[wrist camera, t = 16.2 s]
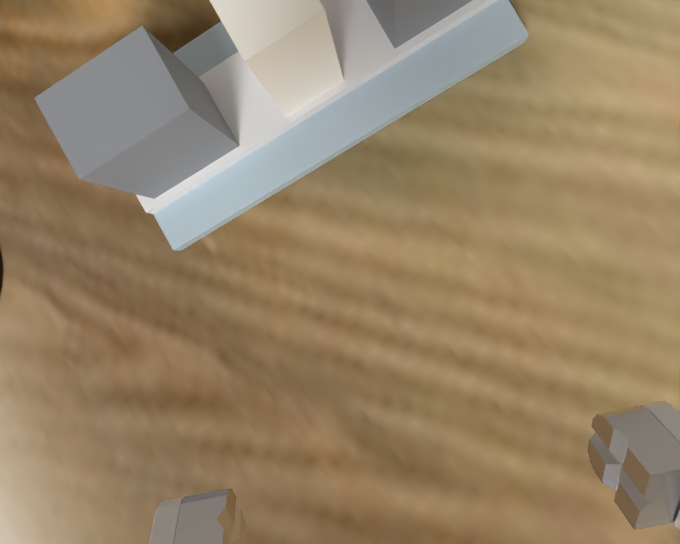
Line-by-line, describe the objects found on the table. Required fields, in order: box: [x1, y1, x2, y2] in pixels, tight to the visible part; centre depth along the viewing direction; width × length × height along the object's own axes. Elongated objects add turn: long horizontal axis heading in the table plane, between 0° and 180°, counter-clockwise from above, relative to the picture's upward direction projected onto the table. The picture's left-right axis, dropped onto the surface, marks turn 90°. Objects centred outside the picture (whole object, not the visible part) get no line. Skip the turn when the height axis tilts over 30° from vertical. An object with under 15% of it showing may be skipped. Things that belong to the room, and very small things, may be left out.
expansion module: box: [210, 0, 344, 117], centre depth 27 cm, size 5×4×9 cm
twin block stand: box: [34, 0, 529, 251], centre depth 29 cm, size 12×28×10 cm, turn 120°
